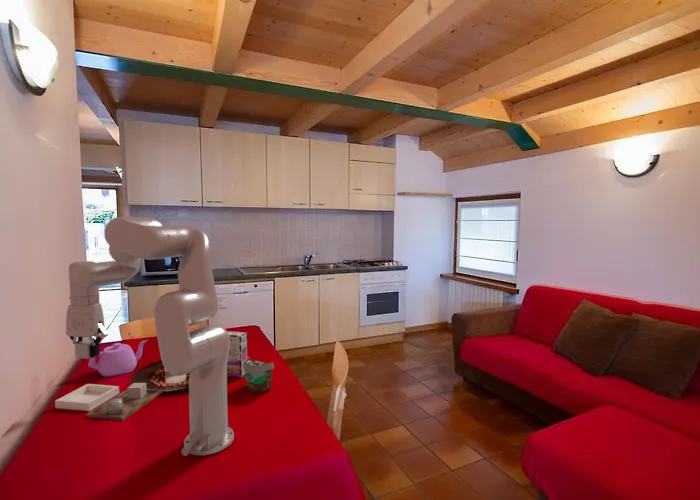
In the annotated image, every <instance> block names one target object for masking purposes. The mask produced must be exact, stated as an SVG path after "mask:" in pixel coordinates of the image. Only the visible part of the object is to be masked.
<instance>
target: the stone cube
mask: <svg viewBox="0 0 700 500" xmlns="http://www.w3.org/2000/svg"><path fill="white" fill-rule="evenodd" d="M90 345H91V342H90V339H88V338H87V339H85V340H84V339H83V341H81V342H79V343H76V344H74V351H75V354H74V355H75V359H85V360H86V359H87V360H88V359H90Z"/></svg>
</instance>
